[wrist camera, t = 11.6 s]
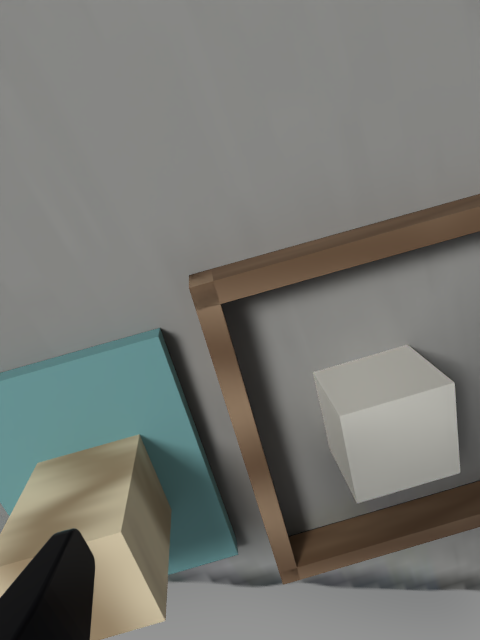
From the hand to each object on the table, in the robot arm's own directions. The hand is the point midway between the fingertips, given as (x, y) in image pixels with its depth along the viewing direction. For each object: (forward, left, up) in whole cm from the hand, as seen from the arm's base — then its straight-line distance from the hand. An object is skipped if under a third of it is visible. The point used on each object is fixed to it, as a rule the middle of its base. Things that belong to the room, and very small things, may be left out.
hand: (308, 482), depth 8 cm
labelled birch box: (+7, -9, -10) cm, 15 cm away
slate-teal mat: (+7, -9, -11) cm, 16 cm away
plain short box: (+7, +5, -12) cm, 15 cm away
